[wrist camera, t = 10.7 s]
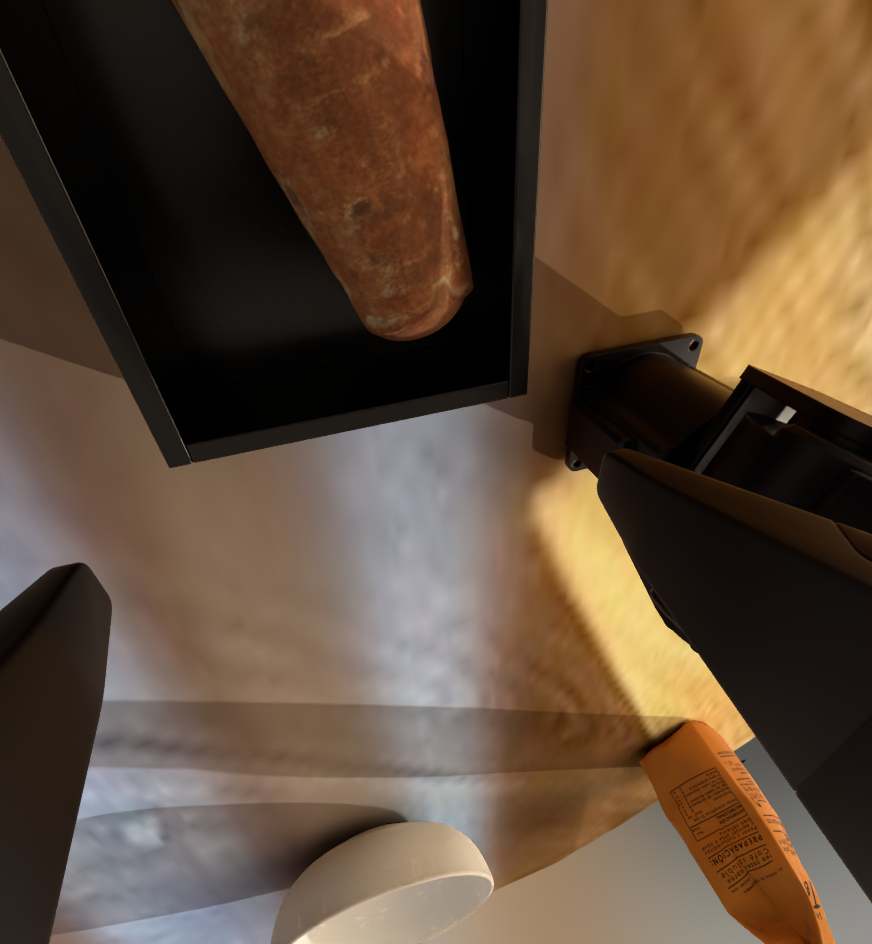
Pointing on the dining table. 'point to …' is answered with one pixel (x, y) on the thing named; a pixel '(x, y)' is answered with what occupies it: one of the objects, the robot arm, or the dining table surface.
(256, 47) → the bread
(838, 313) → the dining table surface
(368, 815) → the dining table surface
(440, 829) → the serving bowl
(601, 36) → the dining table surface
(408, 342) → the bread tray
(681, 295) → the dining table surface
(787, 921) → the coffee package
